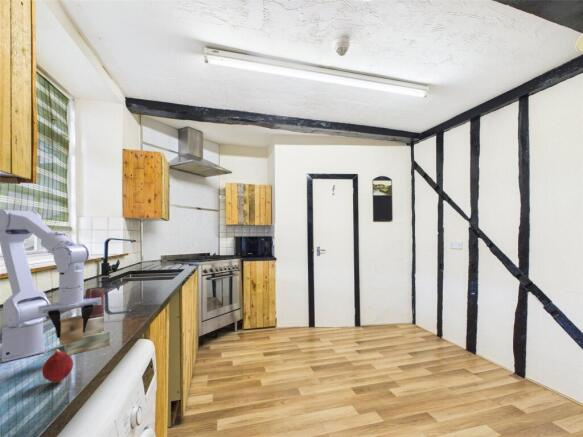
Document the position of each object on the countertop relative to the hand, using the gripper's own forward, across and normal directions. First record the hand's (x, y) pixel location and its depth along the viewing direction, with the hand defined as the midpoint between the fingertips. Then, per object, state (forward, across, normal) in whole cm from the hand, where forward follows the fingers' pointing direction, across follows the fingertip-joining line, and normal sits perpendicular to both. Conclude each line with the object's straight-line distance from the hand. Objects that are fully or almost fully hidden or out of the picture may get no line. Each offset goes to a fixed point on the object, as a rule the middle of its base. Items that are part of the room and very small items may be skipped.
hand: (70, 334), depth 84 cm
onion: (+7, -4, -14) cm, 16 cm away
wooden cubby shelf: (+7, +5, +9) cm, 12 cm away
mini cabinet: (+2, 0, 0) cm, 2 cm away
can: (+7, +11, +33) cm, 35 cm away
